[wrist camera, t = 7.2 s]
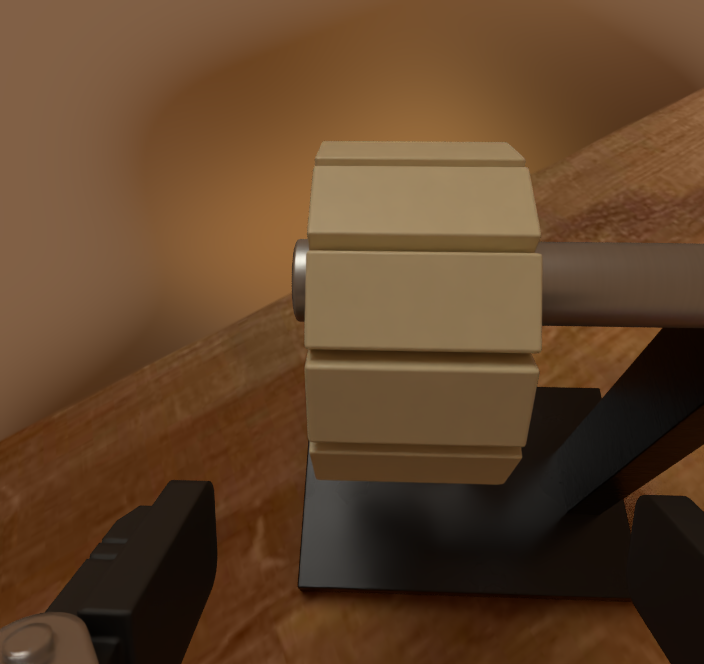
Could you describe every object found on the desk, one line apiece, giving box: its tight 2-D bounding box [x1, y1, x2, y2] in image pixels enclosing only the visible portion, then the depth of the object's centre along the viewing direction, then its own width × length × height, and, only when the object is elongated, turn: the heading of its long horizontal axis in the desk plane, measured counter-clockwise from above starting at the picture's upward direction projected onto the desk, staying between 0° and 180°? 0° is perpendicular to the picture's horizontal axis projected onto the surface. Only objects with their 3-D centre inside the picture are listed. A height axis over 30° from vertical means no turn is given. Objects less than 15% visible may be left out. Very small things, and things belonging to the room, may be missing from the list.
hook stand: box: [292, 239, 704, 602], centre depth 20 cm, size 15×10×19 cm, turn 88°
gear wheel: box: [304, 141, 543, 485], centre depth 15 cm, size 4×8×8 cm, turn 178°
